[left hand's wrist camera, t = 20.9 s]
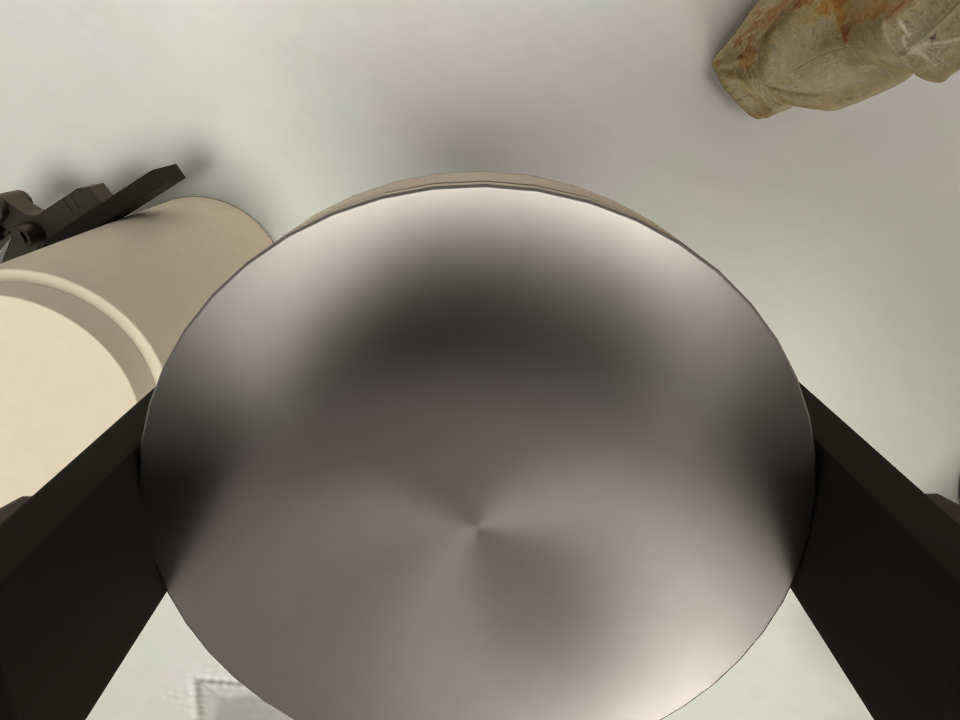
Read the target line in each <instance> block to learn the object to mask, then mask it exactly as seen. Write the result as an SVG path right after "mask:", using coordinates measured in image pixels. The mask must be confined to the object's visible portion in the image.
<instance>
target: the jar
mask: <svg viewBox="0 0 960 720" xmlns="http://www.w3.org/2000/svg"><path fill="white" fill-rule="evenodd" d="M271 244H273V242H272V240H271V238H270V237H269V236H268V234H267V233H266V232H265V231H264V229H263V228H262V227H261V226H260V225H259V224H258V223H257V222H256V221H255V220H253V219H252V218H251V217H250V216H248V215H247V214H246V213H244V212H243V211H241V210H239V209H238V208H236V207H234V206H232V205H229V204H227V203H225V202H222V201H218V200H215V199H210V198H205V197H183V198H178V199H173V200H170V201H168V202H165V203H162V204H159V205H157V206H154V207H151V208H149V209H146V210H143V211H141V212H138V213H135V214H133V215H130V216H127V217H124V218H122V219H119V220H116V221H114V222H111V223H108V224H106V225H103V226H100V227H98V228H95V229H92V230H90V231H87V232H84V233H81V234H79V235H76V236H73V237H71V238H68V239H65V240H63V241H60V242H57V243H55V244H52V245H49V246H46V247H44V248H41V249H38V250H36V251H33V252H30V253H28V254H25V255H22V256H20V257H17V258H14V259H11V260H9V261H6V262H3V263H1V264H0V508H1V507H3V506H5V505H7V504H9V503H10V502H12V501H14V500H16V499H18V498H20V497H22V496H33V495H34V494H35V493H36V492H37V491H39V490H40V489H41V488H42V487H43V486H44V485H45V484H46V483H48V482H49V481H50V480H51V479H52V478H53V477H54V476H55V475H57V474H58V473H59V472H60V471H61V470H62V469H63V468H64V467H66V466H67V465H68V464H69V463H70V462H71V461H72V460H73V459H75V458H76V457H77V456H78V455H79V454H80V453H81V452H82V451H84V450H85V449H86V448H87V447H88V446H89V445H90V444H91V443H93V442H94V441H95V440H96V439H97V438H98V437H99V436H100V435H102V434H103V433H104V432H105V431H106V430H107V429H108V428H109V427H111V426H112V425H113V424H114V423H115V422H116V421H117V420H118V419H120V418H121V417H122V416H123V415H124V414H125V413H126V412H127V411H129V410H130V409H131V408H132V407H133V406H134V405H135V404H136V403H138V402H139V401H140V400H141V399H142V398H143V397H144V396H145V395H147V394H148V393H149V392H150V391H151V390H152V389H153V388H154V387H156V384H157V382H158V379H159V376H160V374H161V371H162V368H163V366H164V364H165V362H166V360H167V359H168V357H169V355H170V353H171V352H172V350H173V348H174V346H175V345H176V343H177V341H178V339H179V338H180V336H181V334H182V332H183V331H184V329H185V327H186V326H187V325H188V324H189V322H190V321H191V320H192V319H193V317H194V316H195V315H196V314H197V312H198V311H199V310H200V309H201V307H202V306H203V305H204V304H205V302H206V301H207V300H208V299H209V297H210V296H211V295H212V294H213V293H214V292H215V291H216V290H217V289H218V288H219V287H220V286H221V285H222V284H223V283H224V282H225V281H226V280H228V279H229V278H230V277H231V276H232V275H233V274H234V273H235V272H236V271H237V270H238V269H239V268H241V267H242V266H243V265H244V264H245V263H246V262H247V261H248V260H250V259H251V258H253V257H254V256H256V255H257V254H258V253H260V252H261V251H263V250H264V249H266V248H267V247H268V246H270V245H271Z"/></svg>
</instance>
